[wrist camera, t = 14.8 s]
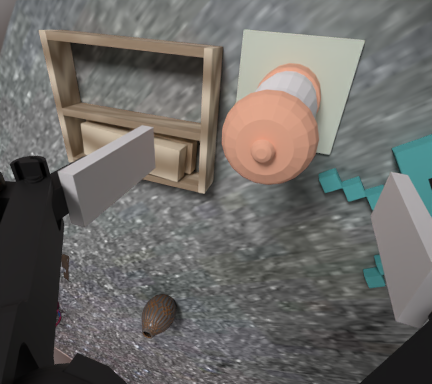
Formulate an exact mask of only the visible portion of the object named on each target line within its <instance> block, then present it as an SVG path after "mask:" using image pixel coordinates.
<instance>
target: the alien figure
mask: <svg viewBox="0 0 432 384" xmlns="http://www.w3.org/2000/svg"><path fill="white" fill-rule="evenodd" d="M392 150H393V153H394V156H395V159H396V161H397V164H398V167H399V170H400V173H401V174H405V175H408V176H409V178H410V180H411V182H412V183H413V185H414V187H415V189H416V191H417V192H418V194H419V196H420V198H421V200H422V201H423V203H424V205H425V207H426V209H427V210H428V212H429V214H430V216H431V218H432V134H431V135H428V136H426V137H423V138H420V139H417V140H414V141H411V142H408V143H406V144H403V145H400V146H397V147H394V148H392ZM319 181H320V183H321V185H322V187H323V189H324V192H325V193H328V192H331V191H334V190H338V189H341V188H343V190H344V193H345V195H346V197H347V199H348V202H349V201H353V200H356V199H360V198H363V197H367V199H368V201H369V204H370V206H371V208H372V210H374V208H375V206H376V203H377V201H378V199H379V197H380V194H381V192H382V190H383V188H384V185H380V186H377V187H373V188H370V189H367V190H365V189H364V187H363V184H362V182H361V180H360V177H359V176H358V177H355V178H352V179H349V180H346V181H343V182H342V181H341V179H340V177H339V175H338V172H337V170H336V168H334V169H331V170H328V171H325V172H323V173H320V174H319ZM374 258H375V262H376V265H377V267H374V268H368V269H363V271H364V277H365V280H366V282H367V284H368V286H369V288H375V287H383V286H386V285H385V281H384V277H383V275H385V274H384V270H383V266H382V262H381V258H380V255H375V256H374Z"/></svg>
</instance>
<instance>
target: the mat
mask: <svg viewBox="0 0 432 384" xmlns="http://www.w3.org/2000/svg"><path fill="white" fill-rule="evenodd" d="M364 42H365V40H358V39H346V38H335V37H323V36H312V35H301V34H289V33H278V32H266V31H255V30H244V32H243V42H242V51H241V61H240V70H239V80H238V89H237V99H236V103H237V101H239V100H241V99H242V98H244V97H245V96H247V95H249V94H250V93H254V92H255V91H256V90H257V88H258V85H259V83H260V82H261V81H262V80H263V78H264V77H265V76H266V75H267V74H268V73H269V72H271V71H272V70H274V69H275V68H277V67H278V66H280V65H284V64H288V63H294V64H301V65H303V66H305V67H308V68H309V69H310V70H311V71H312V72H313V73H314V74H315V75H316V77H317V79H318V81H319V83H320V89H321V102H320V106H319V111H318V112H317V114H316V117H315V120H316V122H317V125H318V133H319V142H318V147H317V151H316V152H317V153H322V154H328V155H330V152H331V149H332V146H333V142H334V139H335V136H336V133H337V129H338V126H339V123H340V120H341V116H342V113H343V110H344V107H345V104H346V100H347V97H348V94H349V91H350V87H351V84H352V81H353V78H354V74H355V71H356V68H357V65H358V61H359V58H360V55H361V52H362V48H363V45H364Z"/></svg>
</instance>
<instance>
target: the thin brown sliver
mask: <svg viewBox="0 0 432 384" xmlns="http://www.w3.org/2000/svg"><path fill="white" fill-rule="evenodd" d="M67 258H68V261H67ZM61 262H62V267H63V268H65V269H66V273H65V272H64V278H65V279H67V280H68V279H69V276H68V275H69V274H68V268H69V264H68V263H69V256H67V255H64V254H62V257H61ZM68 281H69V280H68Z"/></svg>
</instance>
